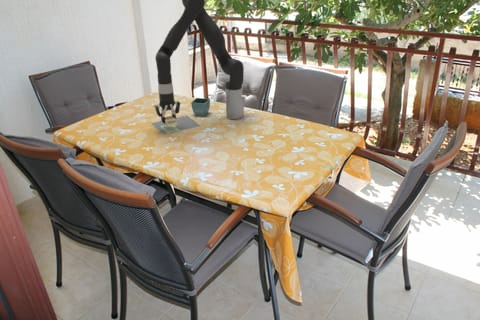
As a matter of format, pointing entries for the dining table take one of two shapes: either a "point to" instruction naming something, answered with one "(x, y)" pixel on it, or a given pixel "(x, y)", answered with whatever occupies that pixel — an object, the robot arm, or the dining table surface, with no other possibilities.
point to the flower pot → (200, 106)
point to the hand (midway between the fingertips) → (169, 121)
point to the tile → (170, 120)
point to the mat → (182, 124)
